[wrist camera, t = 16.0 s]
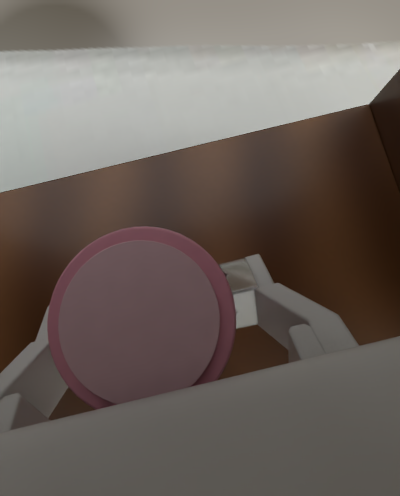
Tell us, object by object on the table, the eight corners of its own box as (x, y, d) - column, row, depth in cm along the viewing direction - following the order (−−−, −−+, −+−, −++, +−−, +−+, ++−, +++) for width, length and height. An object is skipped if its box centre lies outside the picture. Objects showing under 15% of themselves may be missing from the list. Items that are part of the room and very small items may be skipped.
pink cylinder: (210, 248, 15) (210, 204, 7) (231, 338, 15) (259, 399, 7) (123, 269, 15) (27, 248, 7) (141, 360, 15) (58, 447, 7)
